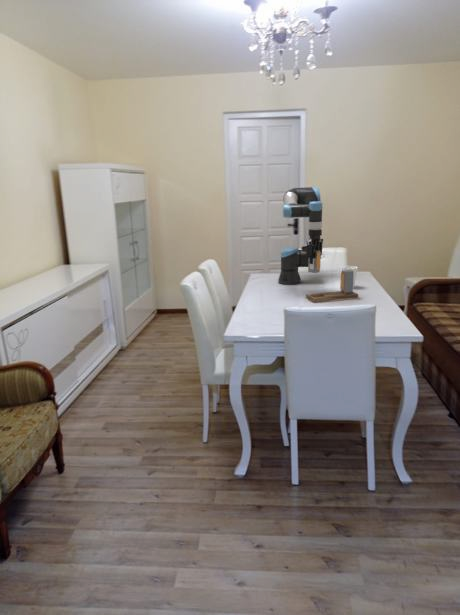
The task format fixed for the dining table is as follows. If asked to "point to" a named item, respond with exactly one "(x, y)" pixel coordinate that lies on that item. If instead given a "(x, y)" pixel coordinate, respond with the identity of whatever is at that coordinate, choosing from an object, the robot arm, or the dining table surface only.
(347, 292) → the mounted finger
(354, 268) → the foam cup
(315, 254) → the gray and orange block
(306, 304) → the dining table surface
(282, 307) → the dining table surface
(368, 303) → the dining table surface
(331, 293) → the rail
